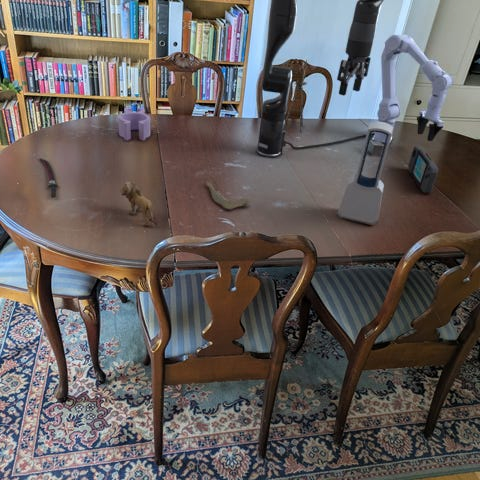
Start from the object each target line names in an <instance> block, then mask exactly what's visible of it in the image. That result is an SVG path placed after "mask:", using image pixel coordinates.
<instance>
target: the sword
mask: <svg viewBox="0 0 480 480" xmlns="http://www.w3.org/2000/svg"><path fill="white" fill-rule="evenodd" d="M40 161H41V162H42V163H43V165H44V166H45V169H46V173H47V176H48V185H47V188H50V198H56V197H57V189H56V188H57V187H59V185H58V184H57V183H56V180H55V176H54V172H53V169H52V167H51V164H50V163H49V161H48V160H46V159H43V158H40Z"/></svg>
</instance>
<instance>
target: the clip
mask: <svg viewBox="0 0 480 480" xmlns="http://www.w3.org/2000/svg"><path fill="white" fill-rule="evenodd" d="M132 109H133V108H132V107H131V106H128V107H125V108H124V110H123V113H120V114H119V115H118V116H117V117H118V118H117V119H118V135H119V136H120V137H121V138H123V139H124V141H129V140H131V139H132V134H131V131H132V130H133V131H134V130H135V131H138V140H140V141H142V142H143V141H146V139H147V138H149V137H150V136H151V116H150V115H149V114H147V113H146V111H145V109H144V108H143V107H139V106H138V107H136V109H137V111H135V112H134V111H132Z"/></svg>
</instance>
